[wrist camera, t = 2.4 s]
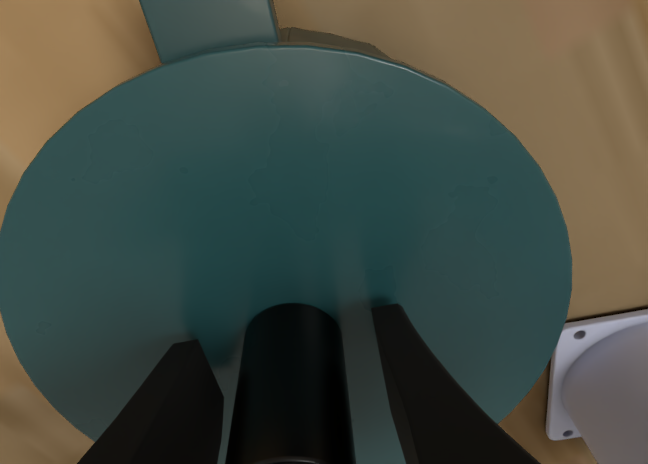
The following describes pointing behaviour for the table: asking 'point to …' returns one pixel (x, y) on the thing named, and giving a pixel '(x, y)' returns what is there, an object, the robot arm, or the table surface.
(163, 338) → the lid
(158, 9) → the pot
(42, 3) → the table surface
